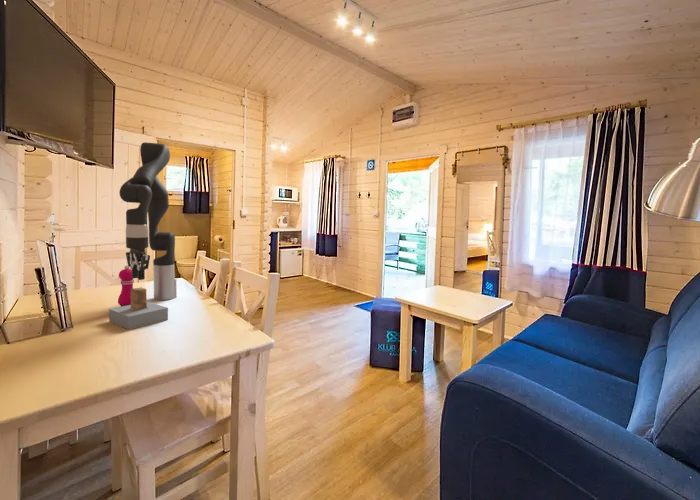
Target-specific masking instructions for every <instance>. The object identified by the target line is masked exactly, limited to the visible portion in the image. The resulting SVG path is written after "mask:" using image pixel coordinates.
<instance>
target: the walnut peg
mask: <svg viewBox="0 0 700 500" xmlns="http://www.w3.org/2000/svg"><path fill="white" fill-rule="evenodd" d="M147 302H148V301H147V288H144V287H133V289H131V310H134V311H139V310H143V309H147Z"/></svg>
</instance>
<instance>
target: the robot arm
mask: <svg viewBox="0 0 700 500" xmlns="http://www.w3.org/2000/svg"><path fill="white" fill-rule="evenodd" d="M139 148H140V149H139V151H140V159H141V164H142V165H141V166H140V167H138V168H137V170H136V171H135V173H134V175H133V176H132V177H131V178H129V179H128V180H127V181H125V182H124V183H123V184H122V185H121V186H120V188H119V197H120V199H121V200H122V201H123V202H126V203H132V204H133V203H135V204H139V205H138V207H135V208H129V209H127V210H126V212H125V215H126V216H125V219H126V221H125V222H126V225H125V248H127V249H129V251H126V252H125V256H126V263H127V266H128V267H129V269H131V270H132V278H133V279H137V280H139V281H142V280H143V281H144V280H145V277H146V276H145V271H146V270H148V269H149V265H150V259H151V256H150V254H146V249H148V248H149V247H150V248H149V249H151V250H152V251H156V252H157V251H158V252H159V251H161V252H165V251H166V253H165V254H164V255H162V256H158V257H156V258H154V259H153V260H152V261H153V262H152V263H153V266H152V267H153V299H154V300H157V301H168V300H174V299H175V298H177V295H178V293H177V278H175V276H176V275H175V247H176V237H175V234H174V233H173V232H167V231H158V227H159V223H160V222H161V220H162V218H163V217H164V216H165V214H166V212H167V211H168V210H169V206H170V201H169V192H168V190H167V188H166V187H165V186H164V185H163V183H162V182H161V181H160V179H159V178H158V175H159V174H160V173H161V171H162V170H164V168H165V167H166V166H167V165H168V164H169V161H170V159H171V153H170V152H171V151H170V148H169V147H168V146H167V145H166V144H164V143H157V142H147V141H146V142H142V143H141V144H140V147H139Z"/></svg>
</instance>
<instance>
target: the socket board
mask: <svg viewBox="0 0 700 500" xmlns="http://www.w3.org/2000/svg"><path fill="white" fill-rule="evenodd" d="M108 316H109V318H108V319H109V323H113V324H115V325H117V326H120V327H122V328H125V329H127V330H132V329H136V328H141V327H145V326H148V325H152V324H157V323H160V322H164V321H168V320H169V308H168V307H166V306H163V305H160V304H157V303H153V302H151V301H147V309H143V310H139V311H134V310H131V305H127V306H122V307H120V306H118V307H113V308H109V309H108Z"/></svg>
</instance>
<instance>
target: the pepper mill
mask: <svg viewBox="0 0 700 500" xmlns="http://www.w3.org/2000/svg"><path fill="white" fill-rule="evenodd" d="M118 278H119V279H120V281H119V282H120V283H119V284H120V285H121V291H120V293H119V295H118V298H117V304H118V305H119V307H122V306H127V305H131V289H134V283H135V279H134V278H132V269H131V268H130V267H128V265H125V266H124V269H121V270H120V271H119V272H118Z"/></svg>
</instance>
